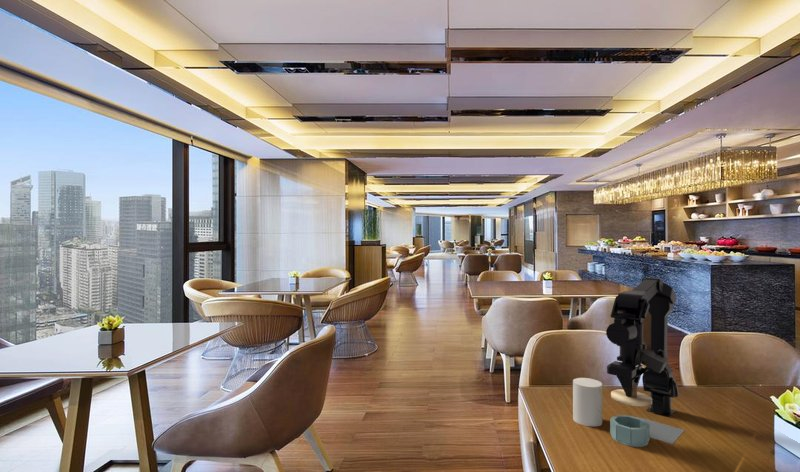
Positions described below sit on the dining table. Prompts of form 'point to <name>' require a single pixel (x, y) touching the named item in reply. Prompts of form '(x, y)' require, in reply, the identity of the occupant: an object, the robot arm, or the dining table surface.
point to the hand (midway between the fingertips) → (630, 395)
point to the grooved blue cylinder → (630, 430)
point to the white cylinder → (587, 402)
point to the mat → (663, 431)
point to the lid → (632, 397)
